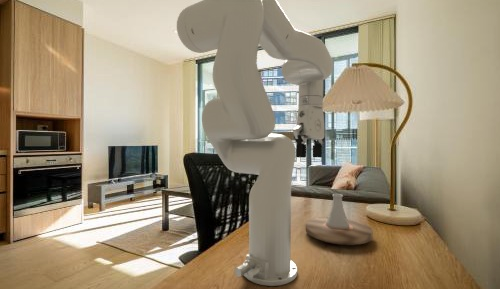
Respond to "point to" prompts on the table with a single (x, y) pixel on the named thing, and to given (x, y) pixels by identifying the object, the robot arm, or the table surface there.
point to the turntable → (339, 232)
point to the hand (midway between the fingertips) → (309, 157)
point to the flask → (337, 214)
